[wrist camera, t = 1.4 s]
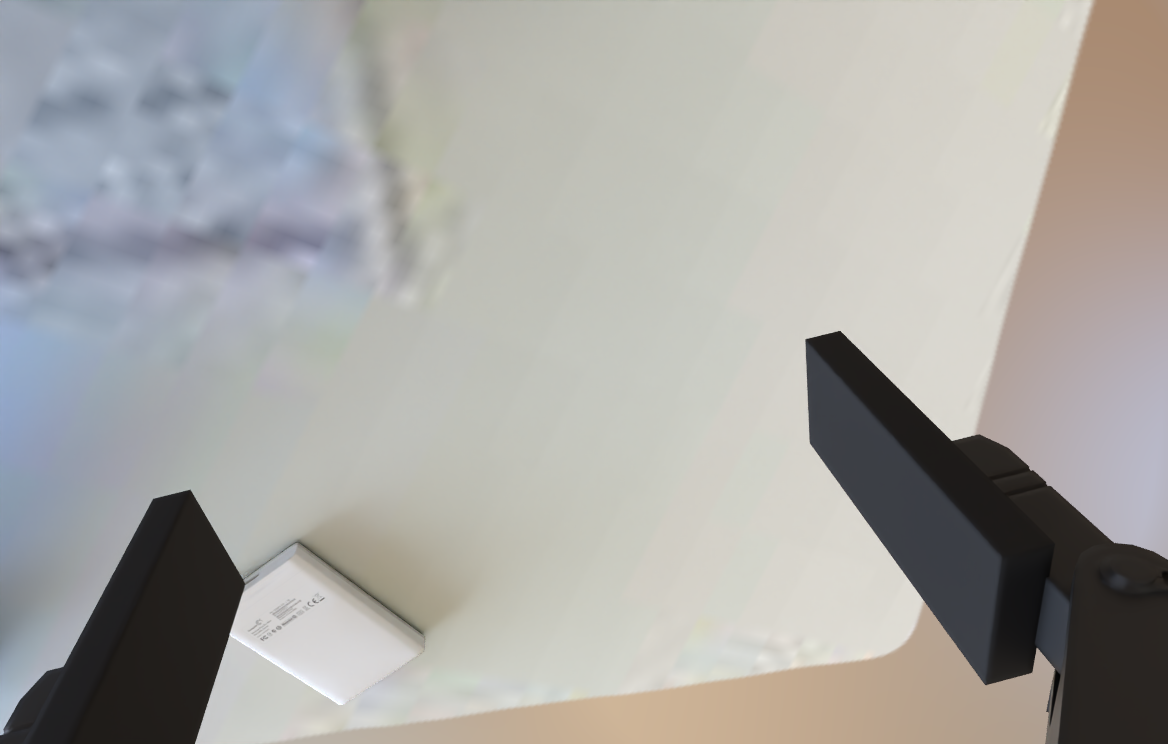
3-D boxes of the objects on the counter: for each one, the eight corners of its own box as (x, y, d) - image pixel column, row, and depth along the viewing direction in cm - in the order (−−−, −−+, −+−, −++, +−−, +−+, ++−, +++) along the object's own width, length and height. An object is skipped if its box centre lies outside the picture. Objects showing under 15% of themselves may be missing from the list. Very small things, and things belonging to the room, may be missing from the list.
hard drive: (342, 688, 57) (208, 604, 51) (426, 633, 56) (298, 539, 50) (339, 707, 56) (201, 622, 50) (425, 651, 54) (294, 556, 48)
